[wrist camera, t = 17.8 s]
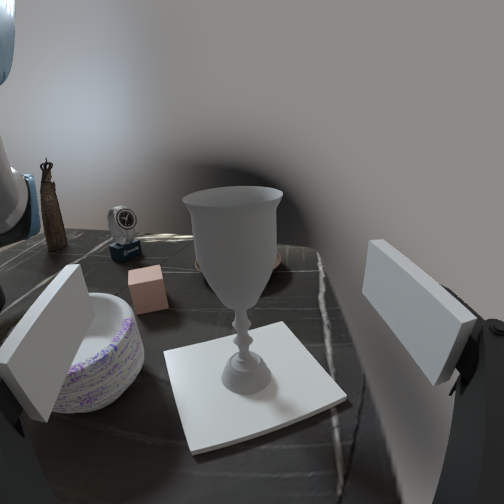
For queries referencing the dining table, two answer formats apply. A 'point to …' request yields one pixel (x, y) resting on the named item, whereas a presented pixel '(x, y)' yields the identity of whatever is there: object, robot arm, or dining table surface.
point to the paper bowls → (103, 358)
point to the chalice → (237, 265)
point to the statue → (51, 211)
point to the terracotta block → (147, 289)
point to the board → (247, 405)
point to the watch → (123, 224)
